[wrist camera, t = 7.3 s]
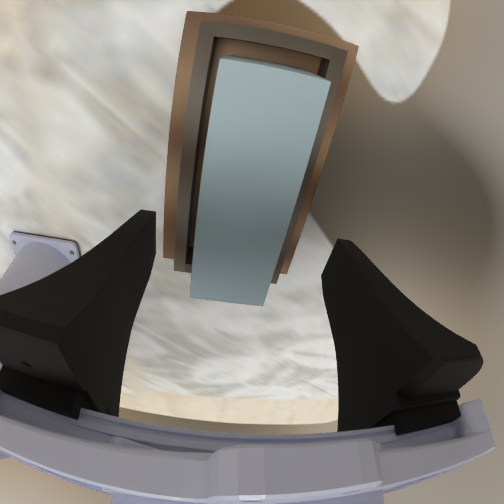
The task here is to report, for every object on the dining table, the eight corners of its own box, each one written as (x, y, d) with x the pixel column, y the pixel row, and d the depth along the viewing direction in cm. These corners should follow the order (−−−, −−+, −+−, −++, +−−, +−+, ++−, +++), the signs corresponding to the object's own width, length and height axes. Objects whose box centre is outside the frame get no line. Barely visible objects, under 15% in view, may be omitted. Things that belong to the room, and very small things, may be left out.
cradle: (285, 269, 25) (289, 291, 23) (164, 252, 24) (158, 275, 22) (355, 45, 14) (371, 47, 12) (188, 12, 13) (179, 7, 11)
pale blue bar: (259, 245, 23) (262, 306, 18) (200, 237, 22) (189, 297, 18) (304, 69, 15) (331, 81, 10) (228, 54, 14) (219, 58, 10)
